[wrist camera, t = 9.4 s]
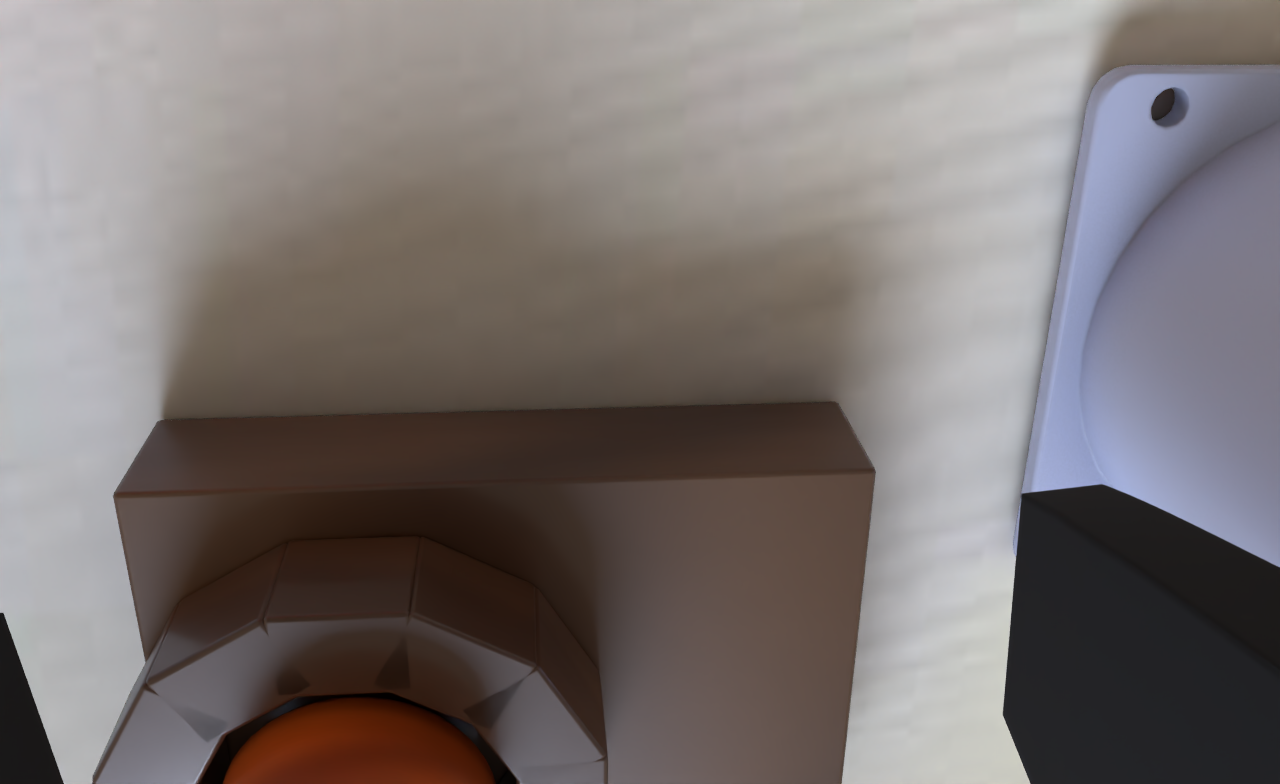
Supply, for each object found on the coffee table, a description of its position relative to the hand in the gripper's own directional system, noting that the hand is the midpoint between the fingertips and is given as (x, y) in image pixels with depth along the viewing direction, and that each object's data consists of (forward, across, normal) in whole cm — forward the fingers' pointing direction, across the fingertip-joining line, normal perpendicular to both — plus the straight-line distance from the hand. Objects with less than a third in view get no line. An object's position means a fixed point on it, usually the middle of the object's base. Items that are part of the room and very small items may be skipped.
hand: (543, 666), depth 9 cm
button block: (+9, +1, +6) cm, 11 cm away
